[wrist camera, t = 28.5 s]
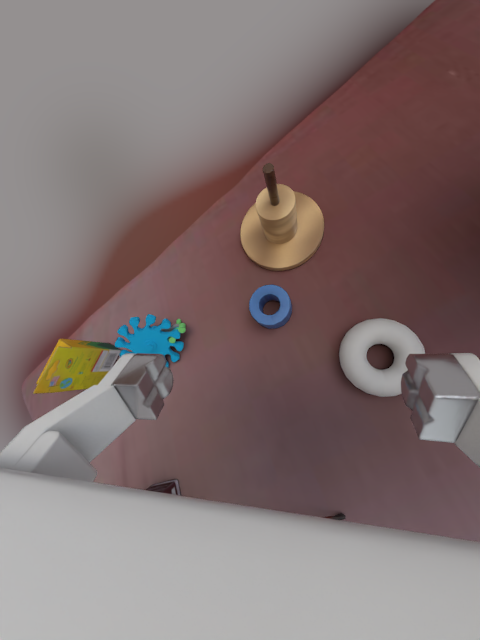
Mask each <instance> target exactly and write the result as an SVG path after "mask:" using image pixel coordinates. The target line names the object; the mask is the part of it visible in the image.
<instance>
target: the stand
mask: <svg viewBox="0 0 480 640" xmlns="http://www.w3.org/2000/svg"><path fill="white" fill-rule="evenodd" d="M263 173H264V177H265V181H266V186H267V188H265V189H264V190H263V191H262V192H261V193H260V194H259V196H258V197H257V200H256V203H255V204H254V205H253V206H252V207H251V208H250V209H249V211H248V212H247V214H246V215H245V217H244V220H243V222H242V226H241V242H242V246H243V248H244V250H245V252H246V254H247V255H248V257H249V258H250V259H251V260H252V261H253V262H254V263H255V264H257V265H258V266H260V267H262V268H265V269H268V270H274V271H282V270H288V269H292V268H295V267H297V266H299V265H301V264H303V263H305V262H306V261H307V260H308V259H310V258H311V257H312V256H313V255H314V254H315V252H316V251H317V249H318V248H319V246H320V244H321V241H322V238H323V233H324V219H323V215H322V212H321V210H320V208H319V206H318V205H317V204H316V203H315V202H314V201H313V200H312V199H311V198H309V197H308V196H306V195H304V194H302V193H299V192H294V191H292V189H290V188H289V187H288V186H286V185H282V184H277V183H276V177H275V171H274V166H273V165H272V164H271V163H268V164H266V165H264V167H263Z"/></svg>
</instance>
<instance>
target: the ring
mask: <svg viewBox="0 0 480 640" xmlns="http://www.w3.org/2000/svg"><path fill="white" fill-rule="evenodd" d="M270 300H276V301H278V302H279V303H280V308H279V310H278V311H277V312H276V313H275V314H273V315H265V314H264V313H263V307H264V305H265V304H266V303H267V302H268V301H270ZM249 309H250V312H251V315H252V317H253V318H254V319H255V320H256V321H257V322H258V323H259V324H261V325H262V326H264V327H266V328H269V329H271V328H279V327H281V326H283V325H285V324H286V322H287V321H288V320H289V319H290V316H291V314H292V304H291V301H290V298H289V296H288V294H287V292H286V291H285V290H284V289H282V288H281V287H279V286H276V285H265V286H262V287H260V288H258V289H257V290H256V291H255V292H254V293H253V295H252V297H251V299H250V302H249Z"/></svg>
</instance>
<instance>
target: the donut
mask: <svg viewBox="0 0 480 640" xmlns="http://www.w3.org/2000/svg"><path fill="white" fill-rule="evenodd" d="M375 344H384V345H386V346H388V347H389V348H390V349H391V350H392V352H393V353H394V362H393V364H392V366H391V367H389V368H387V369H384V370H379V369H376V368H374V367H372V366H371V365H370V364H369V362H368V361H367V356H366V355H367V351H368V349H369V348H370V347H371V346H372V345H375ZM409 354H425V351H424V346H423V345H422V343H421V342H420V340H419V338H418V337H417V335H416V334H415V333H414V332H412V331H411V330H410V329H409V328H408V327H407V326H405V325H403V324H401V323H398V322H396V321H394V320H388V319H382V318H379V319H370V320H366V321H363V322H361V323H359V324H356V325H355V326H354V327H353V328H351V329H350V330H349V331H348V332H347V333H346V335H345V337H344V338H343V340H342V342H341V345H340V351H339V358H340V364H341V367H342V369H343V371H344V373H345V375H346V377H347V378H348V379H349V380H350V381H351V382H352V383H353V384H354V386H355V387H357V388H359V389H361V390H362V391H364V392H366V393H368V394H372V395H376V396H380V397H386V396H397V395H399V394H402V393H401V378H402V374H403V373H405V372H406V371H407V370H408V369H407V367H406V365H405V362H406V358H407V356H408V355H409Z"/></svg>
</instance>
